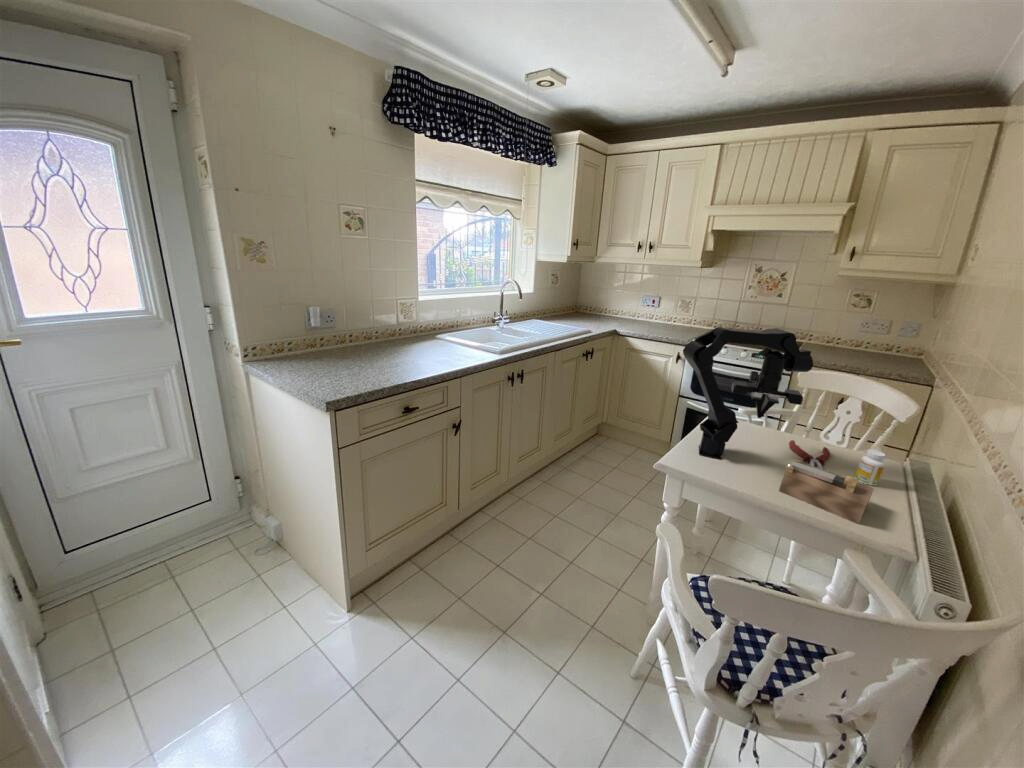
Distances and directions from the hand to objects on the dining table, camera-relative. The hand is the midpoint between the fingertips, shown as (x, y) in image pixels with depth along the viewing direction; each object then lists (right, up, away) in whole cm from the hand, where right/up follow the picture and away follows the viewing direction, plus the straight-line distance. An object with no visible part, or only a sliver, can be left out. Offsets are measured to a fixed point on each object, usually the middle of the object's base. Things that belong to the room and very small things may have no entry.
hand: (758, 417), depth 132 cm
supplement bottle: (+27, -19, -8) cm, 34 cm away
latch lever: (+5, -14, -18) cm, 23 cm away
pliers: (+18, -14, +4) cm, 23 cm away
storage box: (+7, -21, -18) cm, 28 cm away
